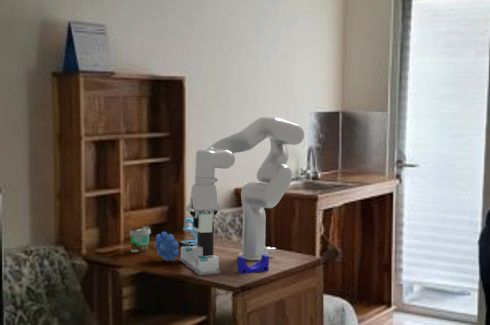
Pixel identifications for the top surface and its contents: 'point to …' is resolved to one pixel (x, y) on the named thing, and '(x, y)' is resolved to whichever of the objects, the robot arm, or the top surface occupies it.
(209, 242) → the bottle
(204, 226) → the block
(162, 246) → the grapes
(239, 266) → the blue mounting bracket
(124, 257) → the top surface
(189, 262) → the rail
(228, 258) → the top surface
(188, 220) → the chair
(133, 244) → the food container
